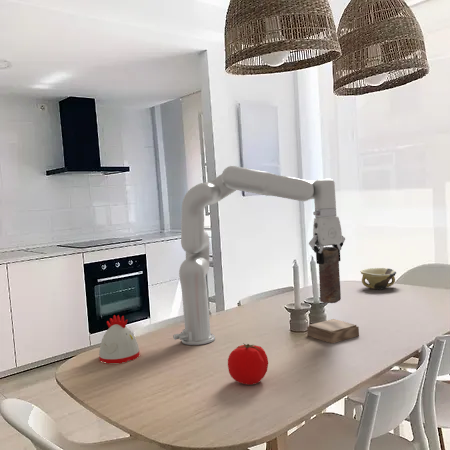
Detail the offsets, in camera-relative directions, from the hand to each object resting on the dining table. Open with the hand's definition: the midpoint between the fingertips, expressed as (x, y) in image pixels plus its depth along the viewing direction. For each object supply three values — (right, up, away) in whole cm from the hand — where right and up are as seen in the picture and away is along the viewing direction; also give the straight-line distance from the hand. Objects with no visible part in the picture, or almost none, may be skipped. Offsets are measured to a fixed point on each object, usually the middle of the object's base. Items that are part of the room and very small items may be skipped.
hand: (328, 262), depth 178 cm
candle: (+1, -15, +1) cm, 15 cm away
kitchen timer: (-74, -33, -5) cm, 82 cm away
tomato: (-30, -32, -36) cm, 57 cm away
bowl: (+43, -20, +77) cm, 91 cm away
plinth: (+2, -27, +2) cm, 27 cm away
